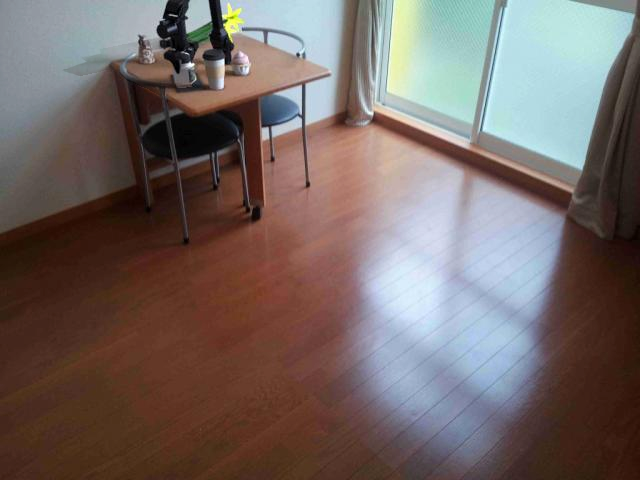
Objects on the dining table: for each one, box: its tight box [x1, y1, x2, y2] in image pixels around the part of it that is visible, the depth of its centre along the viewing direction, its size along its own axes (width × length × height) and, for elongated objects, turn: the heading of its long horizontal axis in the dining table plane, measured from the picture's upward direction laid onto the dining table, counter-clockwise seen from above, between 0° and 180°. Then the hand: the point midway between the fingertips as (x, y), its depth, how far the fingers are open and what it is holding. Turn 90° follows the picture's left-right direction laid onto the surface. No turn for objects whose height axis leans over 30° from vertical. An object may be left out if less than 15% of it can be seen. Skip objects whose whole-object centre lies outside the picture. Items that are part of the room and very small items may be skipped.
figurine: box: [137, 33, 156, 65], centre depth 262 cm, size 7×7×12 cm
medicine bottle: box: [172, 52, 197, 85], centre depth 242 cm, size 7×7×12 cm
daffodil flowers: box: [186, 2, 246, 46], centre depth 283 cm, size 17×15×35 cm
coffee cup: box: [201, 48, 226, 91], centre depth 238 cm, size 9×9×15 cm
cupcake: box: [229, 50, 252, 77], centre depth 253 cm, size 9×9×10 cm
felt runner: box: [170, 71, 206, 93], centre depth 246 cm, size 11×20×1 cm, turn 20°
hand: (183, 70), depth 242 cm, fingers open, 9 cm apart
